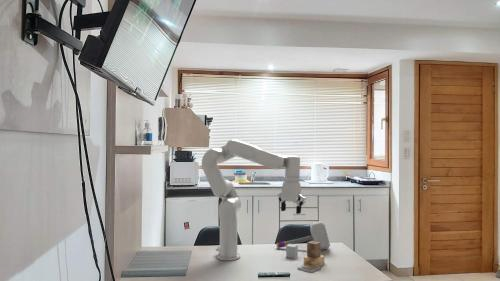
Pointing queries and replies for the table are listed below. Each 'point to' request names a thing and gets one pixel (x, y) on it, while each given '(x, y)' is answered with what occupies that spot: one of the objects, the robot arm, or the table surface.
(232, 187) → the robot arm
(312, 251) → the walnut block
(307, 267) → the swatch tile
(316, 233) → the hammer
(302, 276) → the table surface
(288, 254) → the grey block
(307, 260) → the oak base
